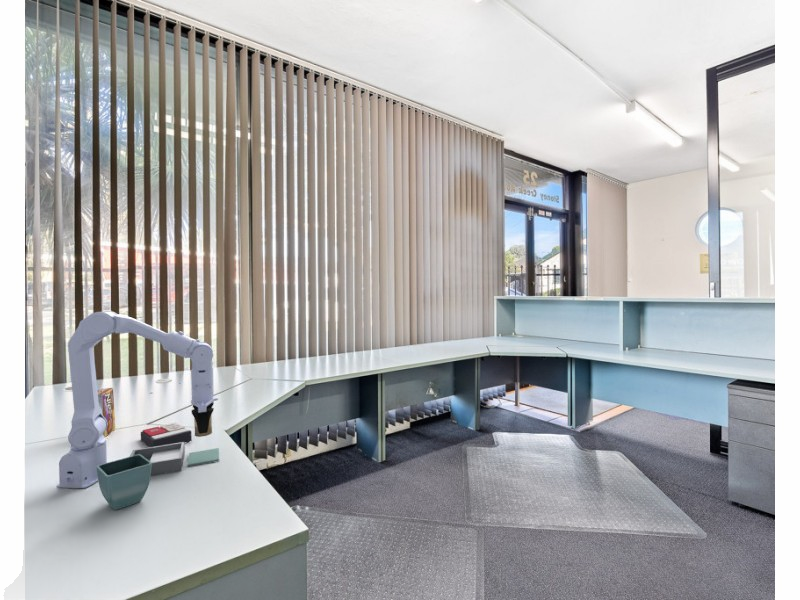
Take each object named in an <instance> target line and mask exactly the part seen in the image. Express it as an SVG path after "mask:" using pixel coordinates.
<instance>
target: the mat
mask: <svg viewBox="0 0 800 600" xmlns="http://www.w3.org/2000/svg"><path fill="white" fill-rule="evenodd" d="M219 450H220V449H219V447H217V448H211V449H204V450H199V451H194V452H189V453H188V460H187V465H186V466H187V467H188V468H189V467H194V465H195V466H199V465H198V464H200V465H205V464H204V463H206V464H210V463H209V462H211V463H215V462H214V461H217V462H219V461H220V451H219ZM218 460H219V461H218Z"/></svg>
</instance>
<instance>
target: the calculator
mask: <svg viewBox="0 0 800 600" xmlns="http://www.w3.org/2000/svg"><path fill="white" fill-rule="evenodd" d="M140 440H141V442H143V443H144V444H145V445H146V446H147V447H148V448H149V447H155V446H162V445H168V444H174V443H181V442H187V443H190V442H189V441H191V442H192V430H190V429H188V428H186V427H185V426H183V425H181V424H179V423H177V422H173V423H168V424H164V425H160V426H155V427H151V428H150V427H149V428H146V429H143V430H142V431H140Z"/></svg>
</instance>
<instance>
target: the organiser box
mask: <svg viewBox="0 0 800 600" xmlns="http://www.w3.org/2000/svg"><path fill="white" fill-rule="evenodd" d="M185 445H186V443H185V442H181V443H174V444H168V445H162V446H155V447H149V446H148V447H144V448H136V449H132V451H131V453H130V455H129V457H130V456H134V455H138V454H140V455H142V456H143V457H144V458H146V459H147V460H149V461H150V462H152V468H151V475H150V478H151V477H155V476H160V475H166V474H172V473H177V472H182V470H183V464H184V459H185V453H186V449H185V448H186V447H185Z"/></svg>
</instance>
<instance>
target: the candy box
mask: <svg viewBox="0 0 800 600" xmlns="http://www.w3.org/2000/svg"><path fill="white" fill-rule="evenodd" d="M97 391H98V402H99V406H100V407H101V409H102V414H103V416H104V418H105V419H106V420H107V423H108V426H107V429H106V431H105V432H104V433H103V435H104V437H105V438H107V436H108V435H110V434H111V433H112V432H113V431H115V430H116V415H115V412H116V411H115V400H114V399H115V398H114V395H115V394H114V387H107V388H100V389H97Z"/></svg>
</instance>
